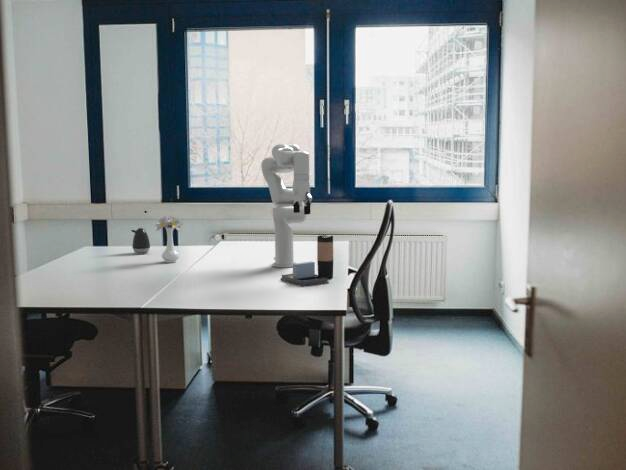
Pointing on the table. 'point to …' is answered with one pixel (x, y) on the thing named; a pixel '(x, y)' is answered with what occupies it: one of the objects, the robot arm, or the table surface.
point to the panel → (303, 269)
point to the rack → (305, 280)
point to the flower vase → (169, 237)
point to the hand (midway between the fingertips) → (301, 213)
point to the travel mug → (325, 256)
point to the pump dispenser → (140, 241)
